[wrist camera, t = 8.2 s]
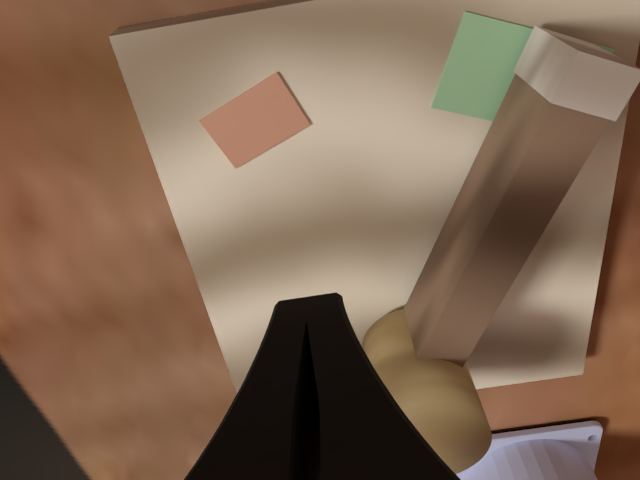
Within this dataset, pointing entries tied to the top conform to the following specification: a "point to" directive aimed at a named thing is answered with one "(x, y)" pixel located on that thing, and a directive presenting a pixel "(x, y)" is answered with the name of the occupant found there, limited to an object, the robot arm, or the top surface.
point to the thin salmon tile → (255, 121)
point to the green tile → (481, 66)
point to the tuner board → (361, 168)
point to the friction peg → (495, 235)
